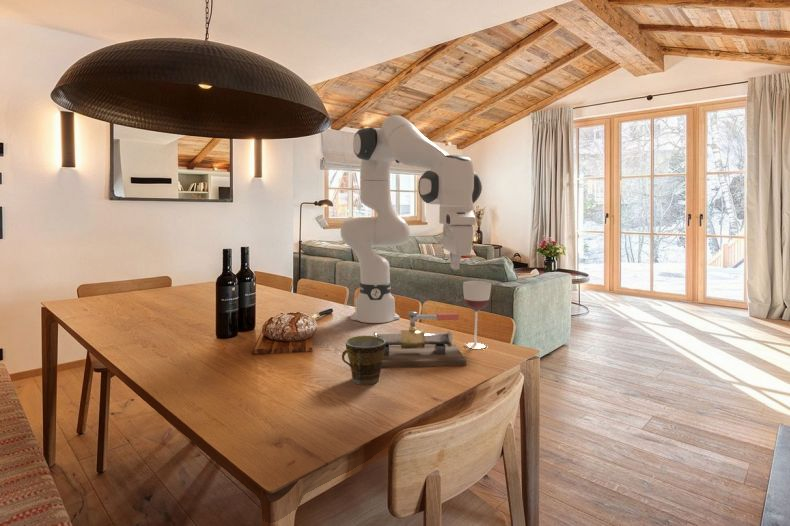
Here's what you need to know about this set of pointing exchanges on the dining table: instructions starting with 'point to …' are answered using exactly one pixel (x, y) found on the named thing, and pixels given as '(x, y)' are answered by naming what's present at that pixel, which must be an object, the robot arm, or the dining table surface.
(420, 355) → the walnut board
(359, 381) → the ceramic cup
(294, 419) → the dining table surface
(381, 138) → the robot arm
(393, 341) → the pipe valve
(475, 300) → the wineglass
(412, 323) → the valve lever
